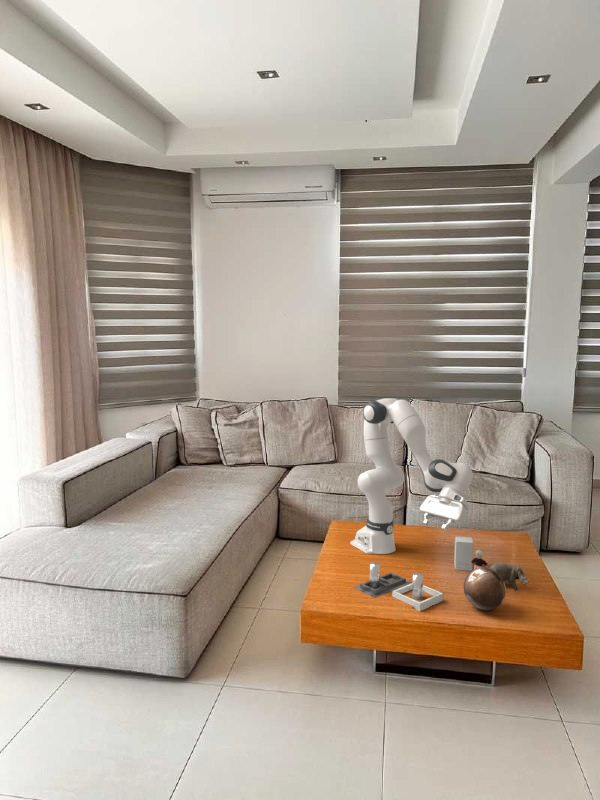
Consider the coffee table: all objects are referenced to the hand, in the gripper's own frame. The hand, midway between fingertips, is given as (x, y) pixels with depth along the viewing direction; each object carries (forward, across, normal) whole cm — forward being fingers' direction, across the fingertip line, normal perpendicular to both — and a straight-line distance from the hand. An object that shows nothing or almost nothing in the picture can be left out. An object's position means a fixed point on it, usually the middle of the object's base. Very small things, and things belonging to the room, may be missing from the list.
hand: (434, 527), depth 240 cm
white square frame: (+28, +4, +7) cm, 29 cm away
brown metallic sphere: (+18, +24, +17) cm, 35 cm away
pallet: (+29, -12, +5) cm, 32 cm away
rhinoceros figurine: (+2, +20, +34) cm, 39 cm away
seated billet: (+32, -12, +1) cm, 34 cm away
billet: (+28, +4, +7) cm, 29 cm away
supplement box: (0, -4, +35) cm, 36 cm away
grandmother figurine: (+4, +8, +31) cm, 32 cm away
